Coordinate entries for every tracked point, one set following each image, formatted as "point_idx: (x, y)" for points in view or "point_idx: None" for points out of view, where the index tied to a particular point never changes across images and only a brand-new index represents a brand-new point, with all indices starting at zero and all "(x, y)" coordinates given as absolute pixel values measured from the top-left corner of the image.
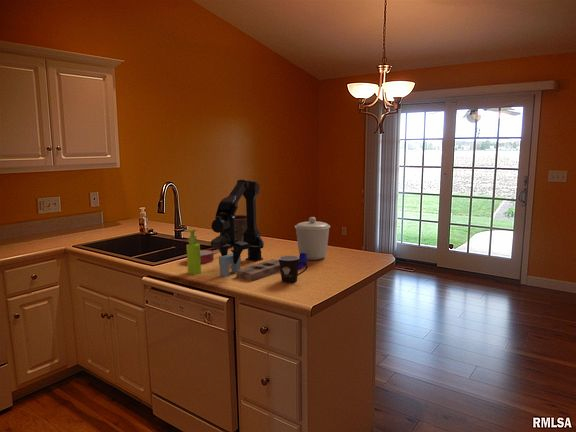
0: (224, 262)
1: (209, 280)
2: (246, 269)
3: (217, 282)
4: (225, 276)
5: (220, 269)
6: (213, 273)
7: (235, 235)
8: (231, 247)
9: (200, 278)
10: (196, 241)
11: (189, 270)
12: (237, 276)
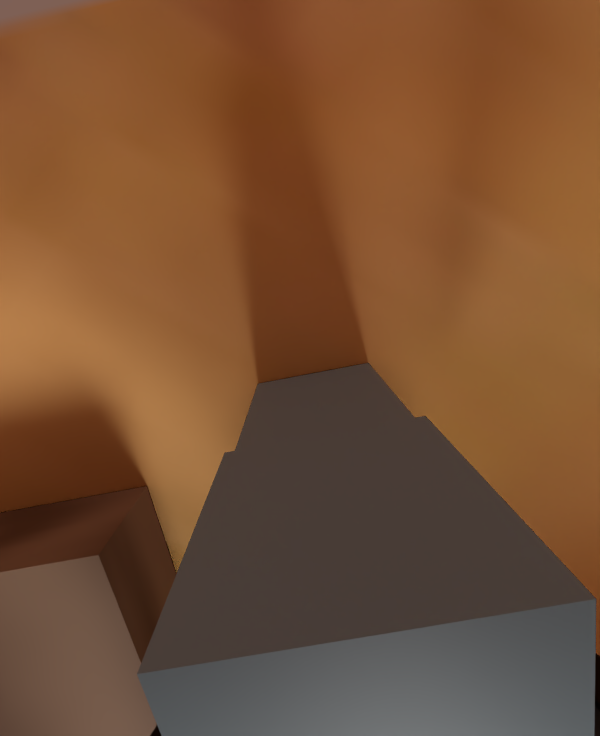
0: (205, 519)
1: (247, 82)
2: (45, 680)
3: (59, 129)
4: (259, 388)
5: (372, 395)
6: (531, 345)
7: None
8: None
9: (465, 15)
10: None
11: None
12: (124, 495)
